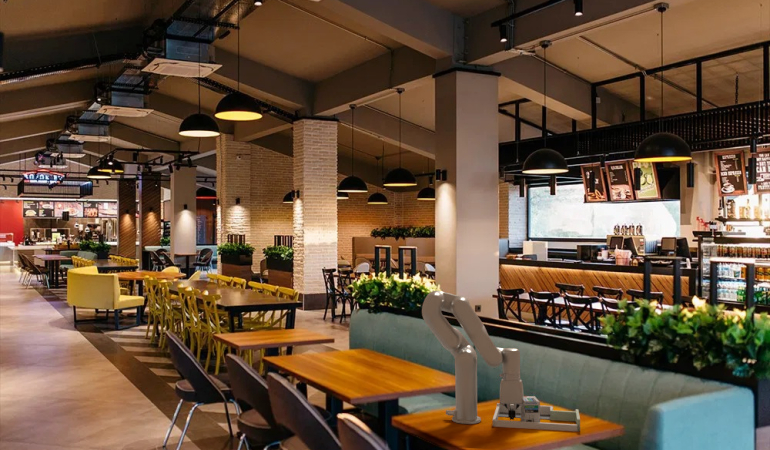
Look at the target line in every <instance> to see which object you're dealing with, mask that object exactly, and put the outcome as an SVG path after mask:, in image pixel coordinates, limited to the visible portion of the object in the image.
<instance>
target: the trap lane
mask: <svg viewBox="0 0 770 450" xmlns="http://www.w3.org/2000/svg"><path fill="white" fill-rule="evenodd" d="M499 403H500V402H499ZM499 403H498V402H497V403H496V407H495V408H496V409H495V411H494V415H493V417H492V427H497V428H511V429H512V428H514V429H527V430H528V429H532V430H534V429H535V430H547V431H566V432H579V431H580V432H581V417H580V413H579V411H580V410H579V409H575V410H574V411H570V410H554V406H553V405H541V404H540V420H547V421H548V420H550V421H560V422H561V421H564V422H575V424H574V423H573V424H572V423H571V424H570V423H556V422H541V421H540V422H523V421H521V420H520V421H518V420H505V419H503V420H501V419H499V418H509V417H508V409H507V408H506V407H505V406H502V405H500V404H499ZM510 406H511V409H513V406H514V404H510ZM515 413H516V417H515V418H514V419H517V418H518V419H521V407H518V408H517V409H516V410H515Z"/></svg>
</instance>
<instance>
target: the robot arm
mask: <svg viewBox="0 0 770 450" xmlns="http://www.w3.org/2000/svg"><path fill="white" fill-rule="evenodd" d="M442 311H443V312H447V313H451V314H452V315H453V316H454V318H456V320H457V321H458V323H459V325H460V326H461V327H462V329H463V331H464V332H465V333H466V335H467V336H468V338H469V340H470V341H471V343H472V344H473V345H474V347H475V348H474V347H473V345H471V343H470V342H469V341H468V339H467V337H465V336H464V334H463V333H462V331H460V329H458V328H456V327H453V326H452V325H451V323H449V320H447V318H446V317H445V316H444V315H443V312H442ZM421 316H422V319H423V320H424V323H425V325H426V326H427V327H428V328H429V329H430V331H431V332H432V334H433V335H434V336H435V338H436V339H437V340H438V342H439V343H440V344H441V346H442V347H443V349H445V350H447V351H448V352H450V354H451V355H452V356H453V358H454V371H455V373H454V374H455V375H454V376H455V377H454V378H455V379H454V380H455V381H454V385H455V387H454V388H455V409H453V410H450V409H446V410H445V415H447V416H452V418H451V420H452V422H454V423H456V424H461V425H474V424H478V423H480V422H482V417H481V416H478V355H477V351H478V353H479V355H480V356H481V358H482V359H483V360H484V362H485V364H487V366H489V367H491V368H497V367H499V366H501V365H502V373H499V377H500V378H502V379H501V380H500V384H499V404H500V405H502V406H505V407H506V408H507V409H508V417H507V418H509V421H515V419H516V418H515V417H516V413H515V410H516V409H517V408H518V407H521V406H522V403H523V399H524V396H525V395H524V384H523V380H522V379H521V355H520V354H521V351H520V350H519V349H518V348H516V347H515V348H513V347H508V348H507V347H506V348H503V347H497V346H496V345H495V344H494V342H493V340H492V339H491V337H490V335H489V333H488V331H487V329H486V327H485V325H484V323H483V322H482V320H481V319H480V317H479V316H478V314H477V313H476V311H475V310H474V308H473V307H472V306H471V305H470V302H469V300H468V298H466V297H465V296H462V295H461V296H460V295H456V294H452V293H449V292H444V291H440V290H432V291H431V292H429V293H428V294H427V295H426V297H425V298H424V301H423V303H422V307H421ZM475 349H476V350H477V351H476V350H475ZM510 404H514V406H513V409H511V406H510Z"/></svg>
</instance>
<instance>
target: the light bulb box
mask: <svg viewBox="0 0 770 450" xmlns="http://www.w3.org/2000/svg"><path fill="white" fill-rule="evenodd" d="M540 405H541V401H540V400H539V399H538V398H537V397H536V396H535V395H533V396H532V395H530V396H529V395H524V399H523V403H522V406H521V418H520V421H523V422H541V419H540Z"/></svg>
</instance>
